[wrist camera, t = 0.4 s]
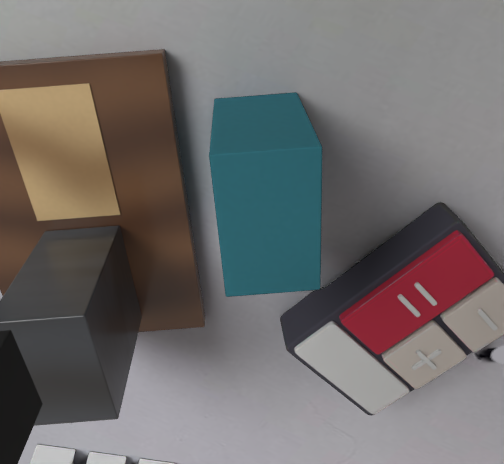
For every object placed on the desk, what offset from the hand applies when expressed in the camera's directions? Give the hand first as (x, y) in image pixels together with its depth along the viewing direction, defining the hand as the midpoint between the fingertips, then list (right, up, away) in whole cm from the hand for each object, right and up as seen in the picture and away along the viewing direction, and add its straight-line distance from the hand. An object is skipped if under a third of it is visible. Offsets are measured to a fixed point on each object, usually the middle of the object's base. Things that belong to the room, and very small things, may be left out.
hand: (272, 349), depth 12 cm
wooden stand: (-12, +4, +20) cm, 23 cm away
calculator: (+11, -2, +25) cm, 27 cm away
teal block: (0, +8, +18) cm, 20 cm away
